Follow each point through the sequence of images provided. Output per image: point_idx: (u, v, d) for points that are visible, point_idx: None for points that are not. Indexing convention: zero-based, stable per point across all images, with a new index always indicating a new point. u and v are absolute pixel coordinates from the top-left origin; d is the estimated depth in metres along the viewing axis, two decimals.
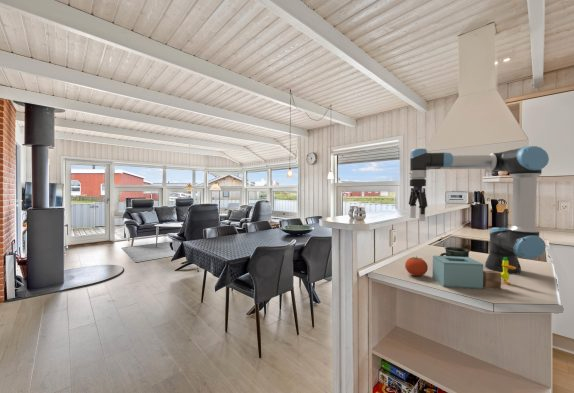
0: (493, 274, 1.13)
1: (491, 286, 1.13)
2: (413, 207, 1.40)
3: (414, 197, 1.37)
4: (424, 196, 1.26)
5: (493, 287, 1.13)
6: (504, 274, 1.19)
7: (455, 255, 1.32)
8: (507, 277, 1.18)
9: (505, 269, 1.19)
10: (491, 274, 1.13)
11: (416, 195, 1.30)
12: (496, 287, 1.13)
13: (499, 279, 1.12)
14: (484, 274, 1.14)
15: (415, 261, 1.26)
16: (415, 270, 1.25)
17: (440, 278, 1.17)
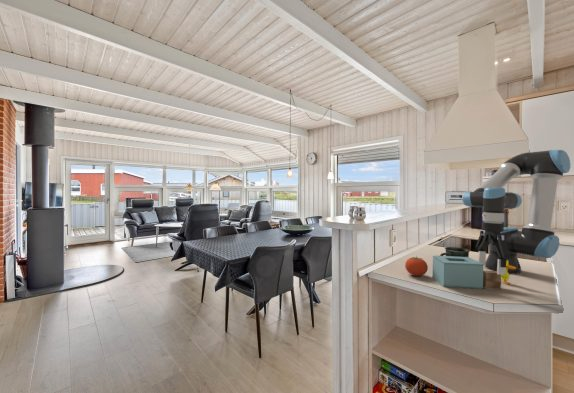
0: (493, 274, 1.13)
1: (491, 286, 1.13)
2: (483, 253, 1.20)
3: (486, 242, 1.17)
4: (505, 246, 1.06)
5: (493, 287, 1.13)
6: None
7: (455, 255, 1.32)
8: (507, 277, 1.18)
9: None
10: (491, 274, 1.13)
11: (493, 242, 1.10)
12: (496, 287, 1.13)
13: (499, 279, 1.12)
14: (484, 274, 1.14)
15: (415, 261, 1.26)
16: (415, 270, 1.25)
17: (440, 278, 1.17)
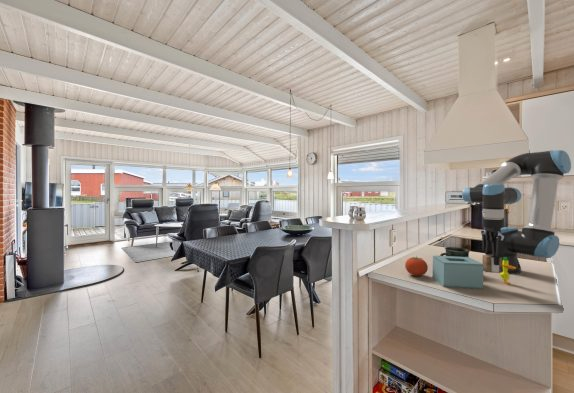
0: None
1: None
2: None
3: (489, 241, 1.15)
4: (502, 246, 1.08)
5: None
6: (504, 274, 1.19)
7: (455, 255, 1.32)
8: (507, 277, 1.18)
9: (505, 269, 1.19)
10: None
11: (491, 240, 1.12)
12: None
13: (500, 263, 1.12)
14: (485, 258, 1.14)
15: (415, 261, 1.26)
16: (415, 270, 1.25)
17: (440, 278, 1.17)
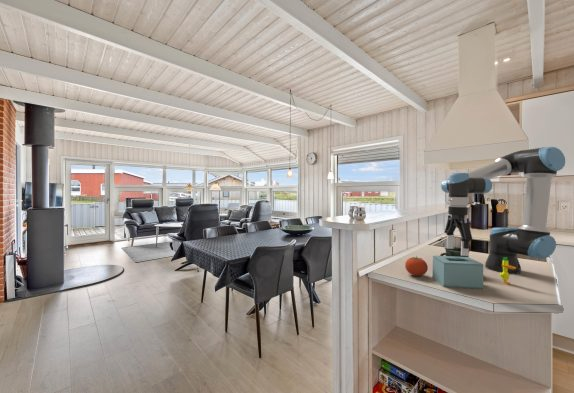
0: None
1: None
2: (451, 237, 1.25)
3: (453, 226, 1.22)
4: (468, 228, 1.11)
5: None
6: (504, 274, 1.19)
7: (455, 255, 1.32)
8: (507, 277, 1.18)
9: (505, 269, 1.19)
10: None
11: (457, 225, 1.15)
12: None
13: None
14: None
15: (415, 261, 1.26)
16: (415, 270, 1.25)
17: (440, 278, 1.17)
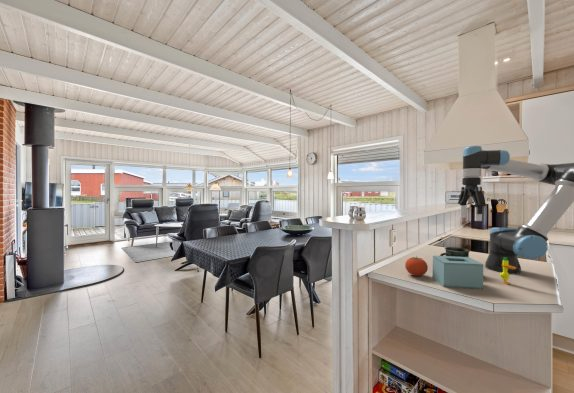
0: None
1: None
2: (464, 207, 1.36)
3: (466, 196, 1.33)
4: (481, 195, 1.21)
5: None
6: (504, 274, 1.19)
7: (455, 255, 1.32)
8: (507, 277, 1.18)
9: (505, 269, 1.19)
10: None
11: (471, 194, 1.26)
12: None
13: None
14: None
15: (415, 261, 1.26)
16: (415, 270, 1.25)
17: (440, 278, 1.17)
